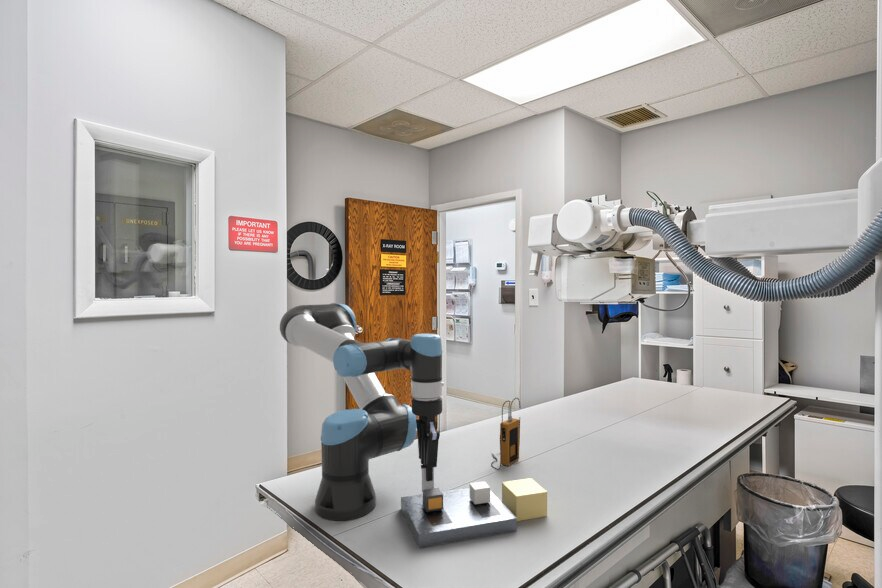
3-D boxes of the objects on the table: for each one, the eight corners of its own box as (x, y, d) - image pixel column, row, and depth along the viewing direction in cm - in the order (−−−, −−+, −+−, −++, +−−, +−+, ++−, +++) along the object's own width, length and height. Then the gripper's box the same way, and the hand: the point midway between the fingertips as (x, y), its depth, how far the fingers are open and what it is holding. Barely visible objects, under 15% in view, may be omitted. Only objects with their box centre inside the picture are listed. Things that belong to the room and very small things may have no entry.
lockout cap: (516, 521, 112) (516, 496, 111) (501, 505, 119) (502, 482, 119) (547, 516, 114) (547, 491, 114) (530, 500, 122) (531, 477, 122)
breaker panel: (419, 548, 101) (419, 534, 100) (401, 509, 118) (400, 497, 118) (516, 531, 107) (516, 518, 107) (486, 496, 125) (486, 484, 124)
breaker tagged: (427, 512, 109) (427, 497, 109) (422, 504, 113) (422, 490, 113) (443, 509, 110) (443, 494, 110) (438, 502, 114) (438, 487, 114)
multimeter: (499, 449, 158) (499, 390, 158) (525, 456, 152) (525, 395, 152) (473, 462, 147) (473, 399, 146) (501, 471, 141) (501, 404, 140)
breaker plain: (474, 504, 113) (474, 489, 113) (469, 497, 116) (469, 483, 116) (490, 501, 114) (490, 487, 114) (484, 495, 118) (484, 481, 117)
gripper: (450, 402, 111) (450, 501, 111) (433, 390, 123) (434, 479, 124) (419, 405, 108) (420, 506, 109) (405, 392, 121) (406, 483, 121)
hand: (427, 491), depth 116 cm, fingers closed
